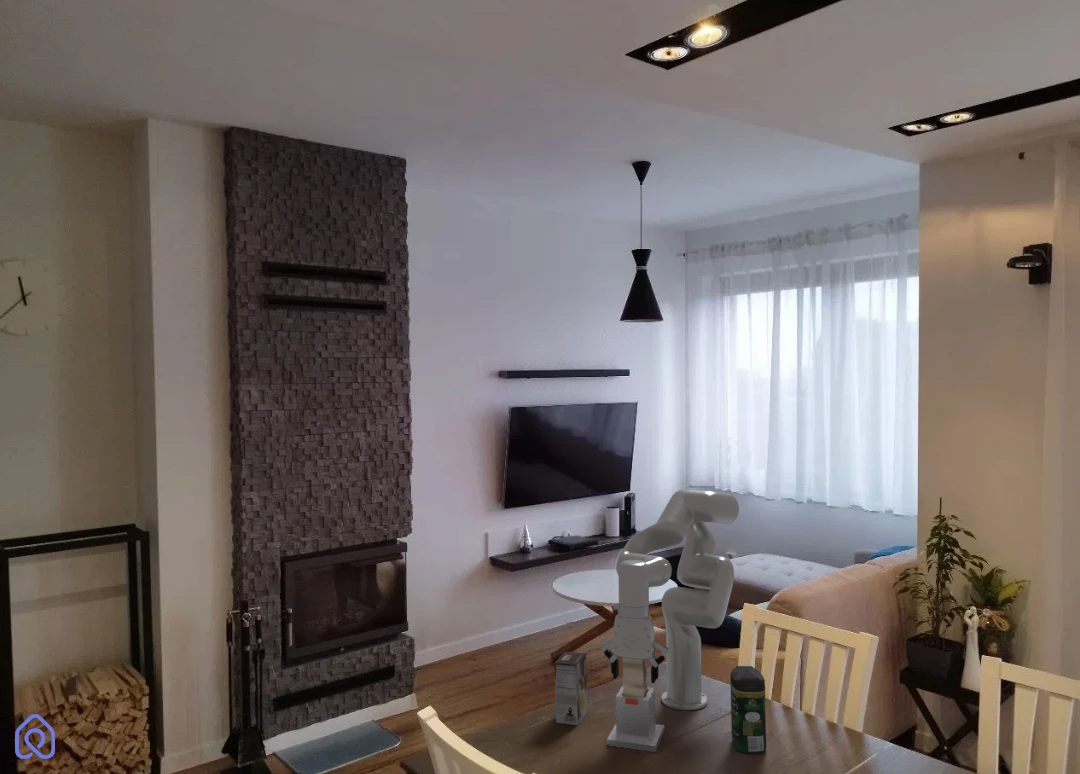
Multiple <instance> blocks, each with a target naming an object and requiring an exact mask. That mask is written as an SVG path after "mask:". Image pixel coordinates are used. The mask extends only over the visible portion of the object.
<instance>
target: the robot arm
mask: <svg viewBox="0 0 1080 774" xmlns="http://www.w3.org/2000/svg"><path fill="white" fill-rule="evenodd" d="M739 507H740V505H739V502H738V500H737V498H736V497H735V495H733V494H729V493H721V492H715V491H710V490H697V489H680V490H677V491H675V492H674V493H673V494H672V496H671V497H670V499H669V500H668V502H667V504H666V506H665V507H664V509H663V511H662V513H660V516H659V518H658V520H657V522H655V523H654V524H652V525H649V526H648V527H646V528H644V529H643V530H640V531H639V532H638V533H635V535H633V536H631V538H630V539H629V540H627V542H626V544H624V545H625V546H624V547H623V548H622V550H621V552H620V554H619V556H618V559H617V561H616V566H615V567H616V568H615V571H616V574H617V576H618V578H617V579H618V603H617V604H613V606H612V609H613V610H614V611H617V614H616V615H615V617H614V618H615V619H614V624H613V633H612V634H613V636H612V637H609V638H608V639H605V640H603V641H602V642H600V644H599V645H600V647H601V650H602V651H603V653H604V655H605V657H606V658H607V659H608V660H609V662H610V671H611V672H610V674H611V675H612V678H613V680H616V679H618V677H619V675H620V669H619V667H620V666H619V665H620V664H619V663H620V662H619V658H621V659H623V658H629V659H639V660H647V661H648V662H650V664H651V667H650V682H651V683H652V684H656V683H655V682H656V681H657V680H658V679H659V665H660V664H662V663H663V662H664V661H665V660H666V691H665V692H663V693H662V694H661V701H662V704H664V705H665V706H667V707H669V708H672V709H675V710H680V711H681V710H682V711H695V710H700V709H703V708H704V707H706V706H707V705H708V696H706V695H705V693H703V691H702V639H701V636H700V633H699V630H698V629H697V627H702V628H707V629H717V628H719V627H720V626H721V625H722V624H723V622H724V619H725V617H726V613H727V611H728V610H727V609H728V605H729V602H730V599H731V594H732V589H733V586H734V582H735V581H734V580H735V569H734V568H735V567H734V563H732V561H731V560H730V559H729V558H727V557H725V556H722V555H714V552H715V547H716V539H715V536H714V534H713V533H712V531H711V529H710V527H709V526H708V525H707V523H714V524H723V525H730V524H732V523H735V521H736V520H737V518H738V516H739V514H740V513H739V512H740V508H739ZM684 540H685V542H684V546H683V549H682V552H681V556H680V560H679V563H678V567H677V570H676V577H677V580H678V581H679V582H680V583H681V585H684V586H686V587H684V586H683V587H680V586H675V587H674V586H673V587H670V588H668V589H667V590H666V591H665V592H664V593H663V596H662V599H661V609H662V614H663V619H664V625H665V642H666V643H665V644H666V645H664V644H662V643H661V642H659V641H657V640H656V637H655V636H656V635H655V629H654V622H653V617H652V615H650V593H649V592H650V590H649V589H650V588H654V587H657V588H658V587H662V586H664V585H665V584H667V583H668V582H669V581H670V578H671V577H672V574H673V573H672V572H673V568H672V564H671V562H669V560H667V559H666V558H664V557H662V556H660V555H659V556H658V555H652V554H649V553H651V552H652V553H653V552H654V551H659V550H664V549H668V548H671V547H674V546H677V545H680V544H681V543H683V541H684ZM687 586H688V587H690V588H688V587H687ZM695 588H698V589H695ZM701 589H702V590H701ZM703 589H705V590H703ZM707 590H709V591H707ZM609 645H612V651H611V649H610V648H609ZM656 649H657V650H658V651H660V652H661V654H660V656H659V657H657V655H656V653H655V652H656Z"/></svg>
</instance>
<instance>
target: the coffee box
mask: <svg viewBox="0 0 1080 774" xmlns="http://www.w3.org/2000/svg"><path fill="white" fill-rule="evenodd" d="M587 670H588V669H587V653H584V652H583V653H582V652H571V651H564V652H563V653H562V654H561V656H559V658H557V660H555V662H554V675H555V676H554V686H555V687H554V689H555V692H554V693H555V695H554V696H555V722H556V723H557V724H564V723H565V724H564V725H571V724H572V725H573V726H579V724H581V722H582V720H583V719H584V717H585V716H586V714H587V713H588V681H587V679H588V676H587V674H588V673H587ZM572 725H571V726H572Z"/></svg>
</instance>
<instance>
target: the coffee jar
mask: <svg viewBox="0 0 1080 774" xmlns="http://www.w3.org/2000/svg"><path fill="white" fill-rule="evenodd" d="M729 680H730V682H729V683H730V717H731V718H730V719H731V724H730V725H731V741H732V744H733V745H734V747H735V749H736V750H737V751H739V752H741V753H746V754H753V755H755V754H761V753H763V752H765V751H766V750H767V727H766V725H767V724H766V723H767V722H766V721H767V720H766V683H765V682H766V680H765V678H764V675H763V674H762V673H761V672H760V671H759V670H758V669H757V668H755V667H753V666H752V665H737V666H735V667H734V668H733V669H732V670H731V671H730V679H729Z"/></svg>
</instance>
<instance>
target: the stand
mask: <svg viewBox="0 0 1080 774" xmlns="http://www.w3.org/2000/svg"><path fill="white" fill-rule="evenodd" d="M610 731H611V732H610V733H609V735H608V736H607V738H606V746H607V745H609V746H610V747H614V746H616V747H615V748H621V747H623V748H622V749H628V748H630V749H631V750H636V749H637V751H643V752H651V753H657V750H658V747H659V745H660V743H661V740H662V738H663V735H664V734H665V725H664V724H656V690H655V687H649V686H647V694H646V696H645V698H639V697H631V696H623V685H622V686H621V687H620V688H619V691H618V692H617V694H616V695H615V724H614V726H613V728H612V730H610ZM630 749H629V750H630Z"/></svg>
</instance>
